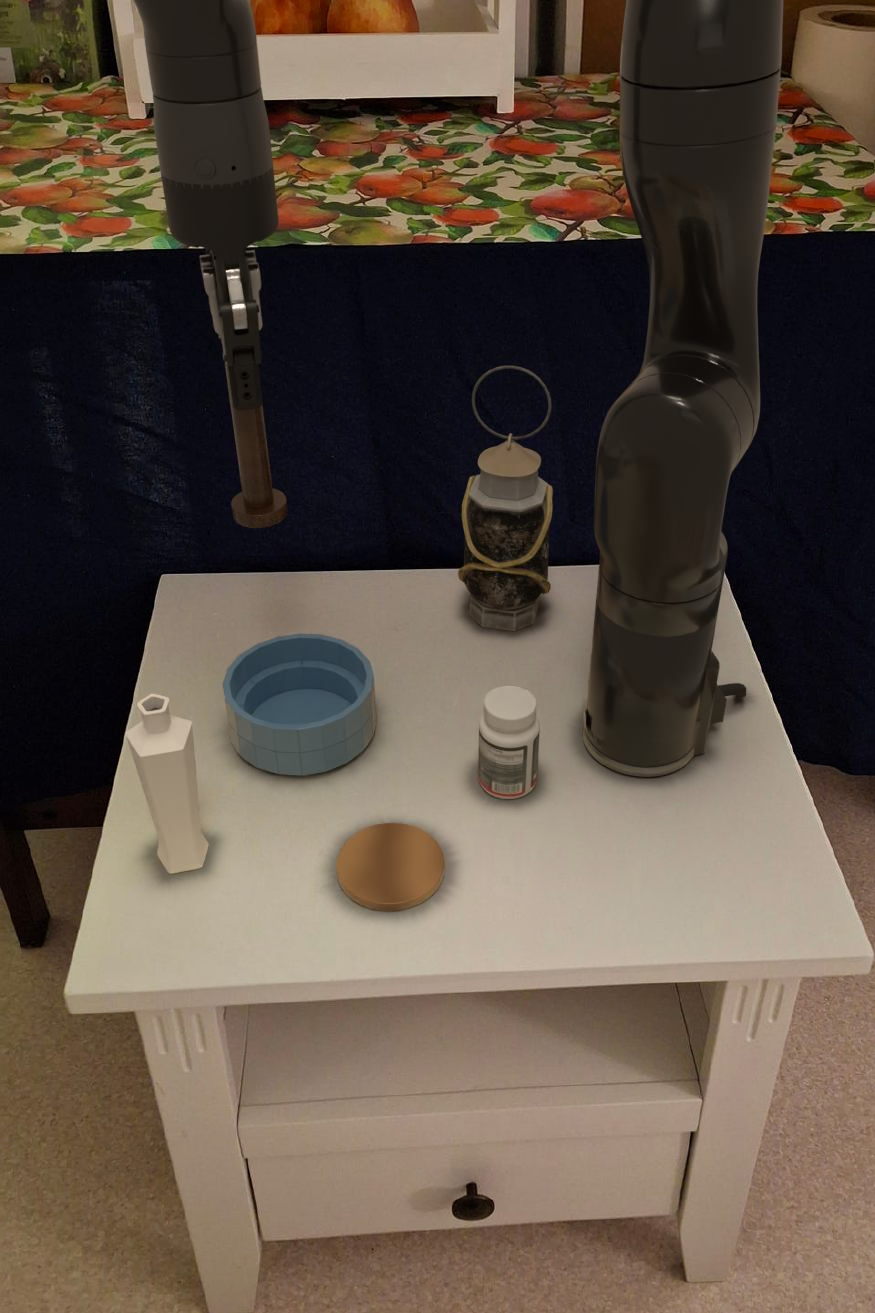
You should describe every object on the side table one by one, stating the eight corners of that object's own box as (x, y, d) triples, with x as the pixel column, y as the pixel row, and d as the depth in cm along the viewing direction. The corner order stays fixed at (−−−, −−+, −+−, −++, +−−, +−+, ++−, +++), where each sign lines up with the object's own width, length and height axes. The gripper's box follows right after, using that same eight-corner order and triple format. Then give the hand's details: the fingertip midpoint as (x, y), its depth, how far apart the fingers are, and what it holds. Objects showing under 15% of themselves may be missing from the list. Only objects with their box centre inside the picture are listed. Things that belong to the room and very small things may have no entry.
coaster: (430, 821, 94) (430, 814, 94) (456, 900, 88) (456, 892, 88) (328, 840, 93) (328, 832, 93) (347, 920, 87) (346, 913, 86)
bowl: (361, 673, 109) (358, 624, 105) (388, 765, 99) (386, 715, 96) (223, 694, 106) (216, 645, 103) (238, 791, 97) (231, 740, 94)
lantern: (556, 592, 118) (572, 350, 102) (542, 642, 112) (557, 393, 96) (468, 581, 120) (470, 341, 104) (450, 630, 113) (449, 382, 98)
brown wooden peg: (284, 496, 101) (264, 321, 91) (290, 524, 97) (271, 344, 88) (230, 503, 100) (205, 327, 91) (235, 531, 97) (209, 351, 87)
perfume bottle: (140, 868, 91) (104, 717, 82) (171, 828, 94) (140, 678, 85) (193, 885, 90) (164, 734, 80) (223, 844, 93) (197, 694, 83)
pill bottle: (507, 751, 101) (510, 673, 95) (549, 781, 98) (554, 701, 93) (465, 779, 98) (466, 700, 93) (507, 810, 95) (510, 730, 90)
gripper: (284, 188, 77) (308, 434, 88) (261, 129, 88) (284, 355, 98) (164, 199, 76) (203, 447, 87) (155, 137, 86) (190, 365, 97)
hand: (246, 397), depth 92 cm, fingers closed on brown wooden peg, 2 cm apart
